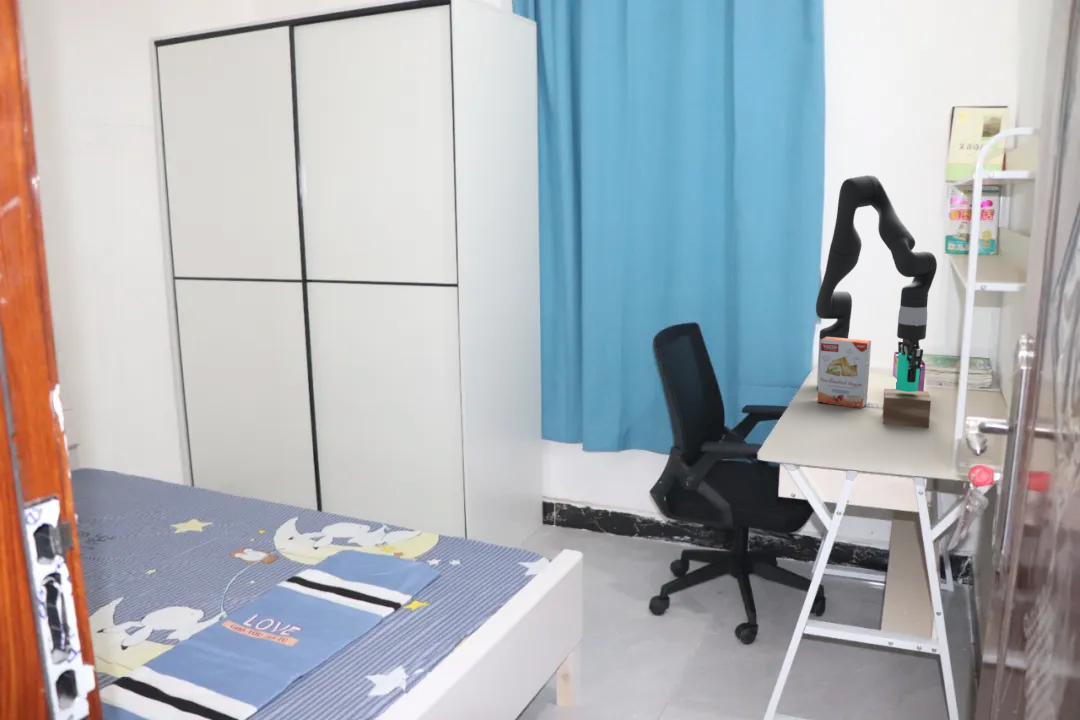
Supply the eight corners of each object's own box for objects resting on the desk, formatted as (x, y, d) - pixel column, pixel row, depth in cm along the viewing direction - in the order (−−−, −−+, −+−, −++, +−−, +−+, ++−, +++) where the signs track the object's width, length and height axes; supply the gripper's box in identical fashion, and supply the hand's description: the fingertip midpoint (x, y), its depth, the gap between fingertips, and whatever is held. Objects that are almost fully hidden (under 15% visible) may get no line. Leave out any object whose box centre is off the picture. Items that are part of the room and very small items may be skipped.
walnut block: (882, 414, 250) (884, 388, 248) (926, 417, 245) (928, 391, 244) (882, 424, 239) (884, 397, 237) (928, 428, 234) (930, 400, 233)
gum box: (923, 409, 255) (927, 366, 252) (895, 407, 257) (899, 364, 255) (916, 392, 277) (919, 352, 274) (890, 390, 279) (893, 351, 277)
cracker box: (816, 403, 263) (820, 338, 259) (822, 399, 268) (825, 335, 264) (862, 409, 256) (867, 342, 251) (867, 404, 260) (871, 339, 256)
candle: (920, 392, 237) (923, 351, 235) (898, 391, 238) (901, 350, 236) (915, 387, 243) (918, 347, 240) (893, 386, 244) (896, 346, 242)
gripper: (890, 318, 244) (886, 374, 247) (907, 325, 230) (902, 385, 233) (917, 318, 243) (912, 374, 246) (935, 325, 229) (930, 385, 233)
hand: (907, 379), depth 240 cm, fingers closed on candle, 4 cm apart
